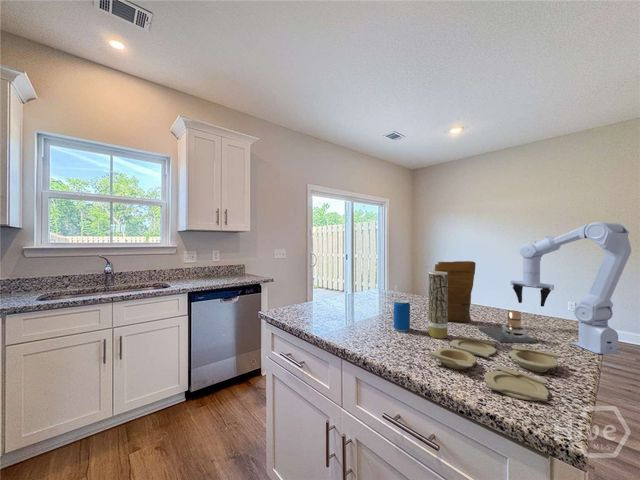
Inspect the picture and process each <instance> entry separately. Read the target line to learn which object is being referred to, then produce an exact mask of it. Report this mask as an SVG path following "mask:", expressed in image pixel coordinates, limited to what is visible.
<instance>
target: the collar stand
mask: <svg viewBox="0 0 640 480" xmlns="http://www.w3.org/2000/svg"><path fill="white" fill-rule="evenodd" d="M477 330H478V331H479V332H481V333H483V334H485V335H487V336H488V337H490V338H492V339H494V340H495V341H496V342H498V343H500V344H501V343H502V344H503V343H508V344H509V343H510V344H511V343H512V344H513V343H514V344H515V343H517V344H526V343H527V344H536V343H537V340H536V339H535V338H533V337H531V336H528V335H527V333H528V330H527V328H526V327H525V326H521V330H515V329H510V328H508V323H505V324H502V326H501V327H487V326H485V327H484V326H483V327H481V326H479V327H478V329H477ZM508 331H509V332H511V334H509V333H508ZM514 333H521V335H514Z"/></svg>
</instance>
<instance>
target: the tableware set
mask: <svg viewBox="0 0 640 480" xmlns="http://www.w3.org/2000/svg"><path fill="white" fill-rule="evenodd" d="M495 345H496V340H495V341H494V340H488V339H477V338H472V337H466V336H461V335H456V338H455V339H452V341H451V342H450V344H449V346H450V347H441V348H437V349H436V350H434V352H432V351H429V352H427V355H428V356H430V357H433V358H436V360H439V361H441V362H442V364H443V365H444V366H446V367H447V368H450V369H455V370H466V369H467V368H472V367H474V365H476V363H478V362H477V358H476V357H475V356H477V357H478V356H480V357H484V358H489V357H490V356H494V355H495V354H496V353H497V349H496V348H495V347H494V346H495ZM511 348H512V349H513V350H510V351H509V352H508V354H509V356H510V358H511V359H513V360H514V361H516V362H517V363H518V365H519V366H520V367H521V368H523V369H526V370H528V371H533V372H538V373H545V372H547V371H549V369H554V368H556V367H558V366H559V361H558V360H557V359H561V358H562V355H561V354H559V353H553V352H550V351H549V352H547V351H543V350H536V349H530V348H527V347H524V346H521V345H511ZM555 358H556V359H555ZM494 368H495V369H496V370H493V371H489V372H487V373H486V374H485V375H484V380H485V388H487V389H490V390H493V391H496V392H500V393H501V394H504V395H506V396H508V397H511V398H515V399H520V400H524V401H535V402H537V401H542V402H548V400H549V399H548V398H549V395H550V393H549V392H550V391H549V390H548V389H547V387H546V386H547V384H548V382H547V381H546V380H543V379H540V378H537V377H534V376H532V375H529V374H526V373H525V372H520V371H518V370H515V369H511V368H510V367H506V366H503V365H500V364H495V365H494Z"/></svg>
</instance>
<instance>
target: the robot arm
mask: <svg viewBox="0 0 640 480" xmlns="http://www.w3.org/2000/svg"><path fill="white" fill-rule="evenodd" d="M629 233H630V231H629V230H628V229H627V228H625V226H623V224H621V223H619V222H600V221H599V222H598V221H594V222H591V223H589V224H585V225H582V226H579V227H578V228H575V229H573V230H571V231H568V232H566V233H564V234H561V235H560V236H559V235H558V236H557V237H554V236H544V237H543V239H540V240H538V241H533V242H532V243H531V244H530V243H525V244H524V245H521V247H520V248H519V253H520V255H521V257H522V281H521V280H510V286H512V289H513V291H514V292H515V295H516V298H517V301H518V304H522V303H523V290H524V289H523V287H525V288H534V289H540V307H545V303H546V300H547V298H548V296H549V294H550V293H551V292H552V291H554V290H555V285H554V284H549V283H542V282H541V261H542V257H543V256H544V255H546V254H549V253H553V252H556V251H558V250H560V248H561V247H562V246H563V245H566V244H569V243H573V242H575V241H576V242H577V241H579V240H583V239H589V240H590V241H591V242H594V243H595V244H597V245H598V246H599V247H600V248H601V249H602V250H603V251H604V255H603V257H602V260H601V263H600V264H599V267H598V269H597V272H596V275H595V277H594V280H593V281H592V284H591V287H590V288H589V291H588V293H587V294H586V295H585V296H584V297H583V298H581V300H580V301H579V303H578V304H577V305H575V306H574V307H573V314H574V316H575V318H576V319H577V322H578V327H577V328H578V329H577V331H578V338H577V339H578V340H577V341H571V344H573V345H575V346H577V347H580V348H582V349H585V350H587V351H590V352H592V353H595V354H598V355H621V354H622V353H621V352H620V351H619V334H618V331H617V330H615V329H613V328H611V327H610V326H609V320H610V319H612V317H613V315H614V314H613V313H614V312H613V307H614V303H613V302H612V300H611V298H612V296H613V294H614V292H615V289H616V287H617V284H618V283H619V281H620V278H621V276H622V273H623V271H624V269H625V267H626V264H627V263H628V260H629V259H630V255H631V253H632V247H631V243H630V238H629Z"/></svg>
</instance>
